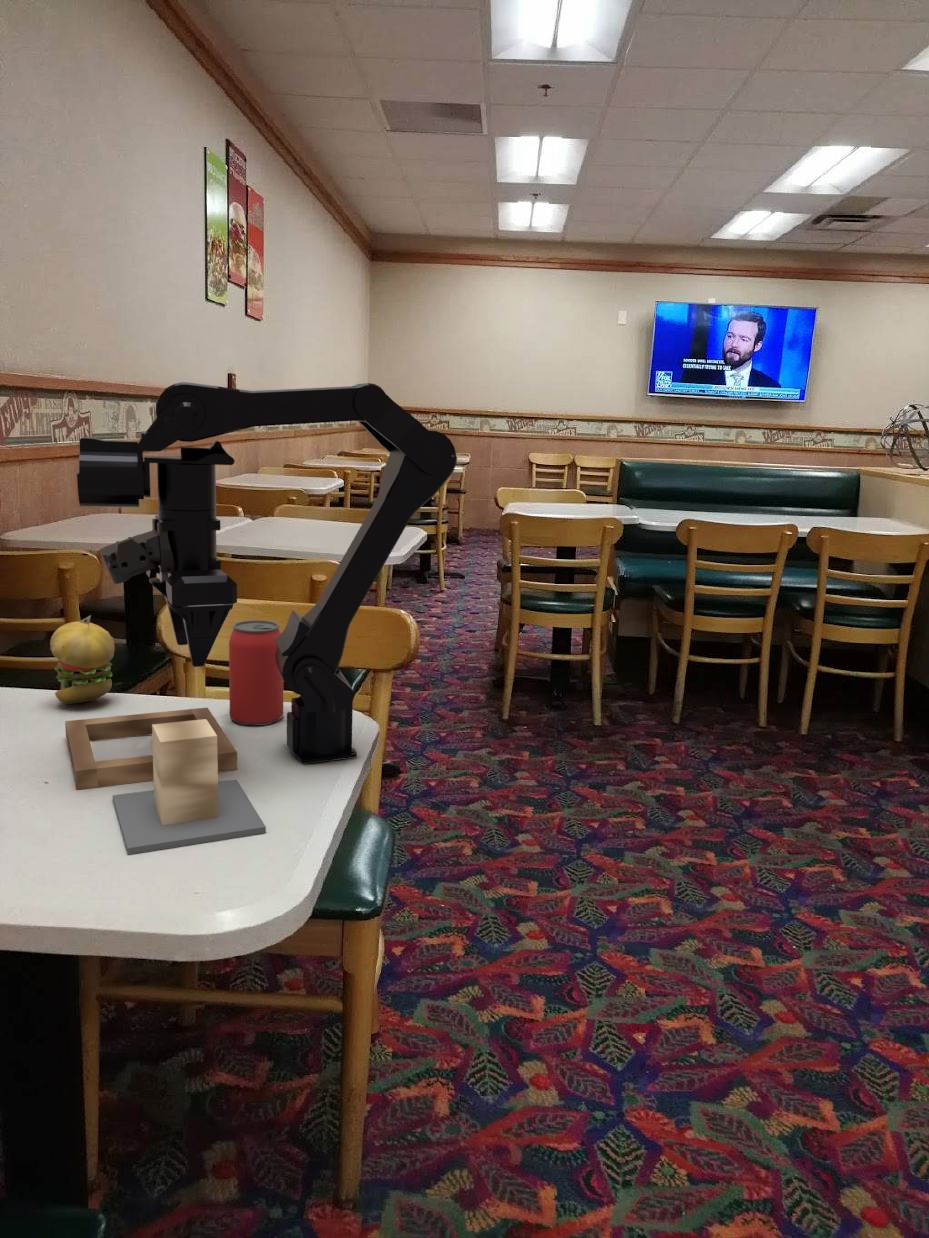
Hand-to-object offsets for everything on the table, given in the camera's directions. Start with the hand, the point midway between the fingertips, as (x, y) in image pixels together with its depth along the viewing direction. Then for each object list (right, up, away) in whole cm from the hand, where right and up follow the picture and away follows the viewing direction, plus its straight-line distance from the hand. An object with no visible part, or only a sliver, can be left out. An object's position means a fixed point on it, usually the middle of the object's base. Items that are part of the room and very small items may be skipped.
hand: (189, 654), depth 99 cm
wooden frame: (-6, -11, +4) cm, 13 cm away
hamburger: (-19, -7, +20) cm, 28 cm away
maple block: (+3, -14, -11) cm, 18 cm away
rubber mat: (+3, -15, -11) cm, 19 cm away
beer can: (+3, -9, +18) cm, 20 cm away
